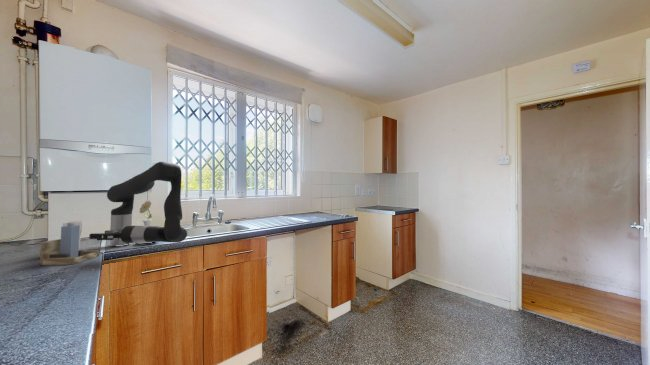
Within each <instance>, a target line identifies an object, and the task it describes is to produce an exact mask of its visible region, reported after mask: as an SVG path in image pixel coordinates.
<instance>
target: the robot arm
mask: <svg viewBox="0 0 650 365" xmlns="http://www.w3.org/2000/svg"><path fill="white" fill-rule="evenodd" d="M156 181H163V182H168V183H170V188H171V189H170V191H169V193H168V195H167V197H166V198H165V200H164V204H163V212H164V219H165V220H164V223H163V224H164V225H163V226H158V225H152V226H151V225H150V226H145V225H132V224H133V222H132V221H133V220H132V219H133V210H134V203H135V202H134V201H135V195H139V194H140V195H141V194H143V193H146V192H148V191H149V190H151V189H153V188H154V186H155V182H156ZM181 190H182V169H181V166H180V165H178V164H176V163H171V162H167V161H158V162H156V163H154V164H153V165H152V166H151V167H149V168H147V169H146V170H145V171H143V172H141V173H139V174H136V175H134V176H133V177H131V178H129V179H127V180H125V181H124V182H122V183H119V184H115V185H112V186H111V187H110V188H109V189H108V191H107V193H106V198H107V199H108V200H109V201H110V202H112V203H122V204H121V205H120V206H119V207H115V208H112V209H111V210H110V229H109V230H107V229H106V230H105V231H104V232H99V233H97V232H96V233H95V232H94V233H89V237H88V239H90V240H96V241H109V246H110V245H112V246H116V245H124V244H129V243H132V244H136V243H143V242H155V243H158V242H161V243H163V242H164V243H181V242H184V241H185V240H186V238H187V236H188V232H187V229H186V228H184V227H182V226H181V220H182V219H183V210H182V202H181V197H182V196H181V195H182V191H181Z"/></svg>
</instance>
